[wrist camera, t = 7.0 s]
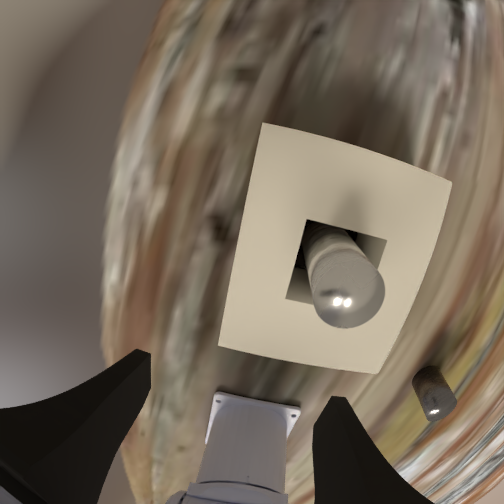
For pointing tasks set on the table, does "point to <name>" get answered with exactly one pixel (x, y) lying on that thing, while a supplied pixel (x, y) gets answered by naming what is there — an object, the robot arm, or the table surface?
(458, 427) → the table surface
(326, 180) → the hole block
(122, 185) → the table surface
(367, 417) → the table surface
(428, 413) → the short pin
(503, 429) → the table surface
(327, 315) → the long pin
